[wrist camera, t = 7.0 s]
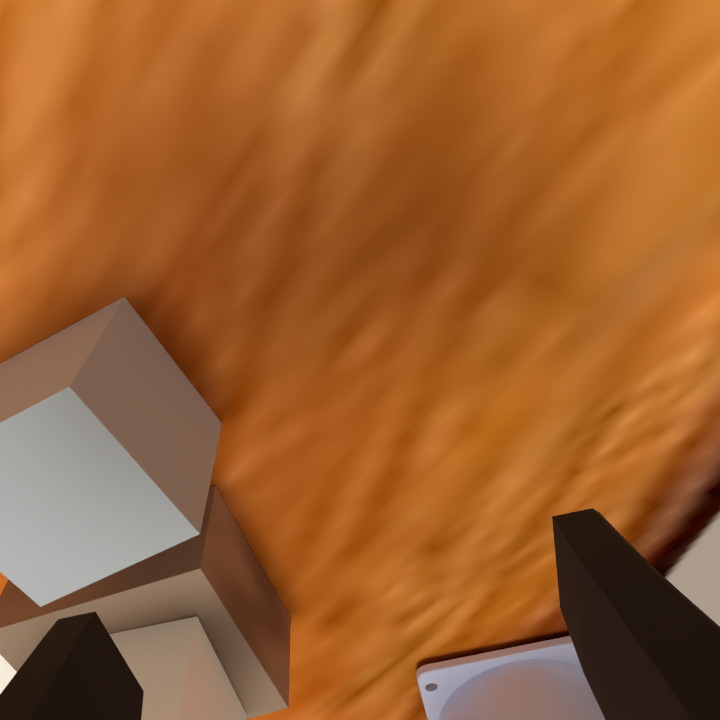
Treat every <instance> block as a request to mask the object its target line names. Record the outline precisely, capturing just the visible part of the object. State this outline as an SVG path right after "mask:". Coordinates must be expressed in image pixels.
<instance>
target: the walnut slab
mask: <svg viewBox="0 0 720 720" xmlns="http://www.w3.org/2000/svg"><path fill="white" fill-rule="evenodd" d="M90 612H96V613H97V615H98V617H99V618H100V620H101V621H102V623H103V625H104V626H105V628H106V630H107V631H108V633H109V634H113V633H118V632H122V631H127V630H132V629H137V628H142V627H147V626H152V625H157V624H162V623H166V622H171V621H176V620H181V619H186V618H191V617H196V616H197V617H198V619H199V621H200V623H201V625H202V627H203V629H204V631H205V633H206V635H207V637H208V639H209V641H210V643H211V645H212V647H213V649H214V651H215V653H216V655H217V657H218V659H219V661H220V663H221V665H222V667H223V669H224V671H225V673H226V675H227V677H228V679H229V681H230V683H231V685H232V687H233V689H234V691H235V693H236V695H237V697H238V698H239V700H240V702H241V704H242V706H243V708H244V710H245V712H246V714H247V715H246V719H250V718H253V717H257V716H261V715H264V714H268V713H271V712H275V711H279V710H282V709H286V708H288V704H289V663H290V622H291V617H290V616H289V614H288V612H287V610H286V609H285V607H284V605H283V603H282V601H281V600H280V598H279V596H278V594H277V593H276V591H275V589H274V587H273V586H272V584H271V582H270V580H269V579H268V577H267V575H266V573H265V571H264V570H263V568H262V566H261V564H260V563H259V561H258V559H257V557H256V556H255V554H254V552H253V550H252V548H251V547H250V545H249V543H248V541H247V540H246V538H245V536H244V534H243V533H242V531H241V529H240V527H239V526H238V524H237V522H236V520H235V518H234V517H233V515H232V513H231V511H230V510H229V508H228V506H227V504H226V503H225V501H224V499H223V497H222V496H221V494H220V492H219V490H218V488H217V487H216V485H215V486H211V487H209V491H208V496H207V501H206V506H205V511H204V516H203V521H202V526H201V531H200V534H199V535H197V536H194V537H192V538H190V539H188V540H186V541H183V542H181V543H179V544H177V545H175V546H173V547H170V548H168V549H166V550H164V551H162V552H159V553H157V554H155V555H153V556H151V557H148V558H146V559H144V560H142V561H140V562H138V563H135V564H133V565H131V566H129V567H127V568H124V569H122V570H120V571H118V572H116V573H113V574H111V575H109V576H107V577H105V578H103V579H100V580H98V581H96V582H94V583H92V584H89V585H87V586H85V587H83V588H81V589H78V590H76V591H74V592H72V593H70V594H68V595H65V596H63V597H61V598H59V599H57V600H54V601H52V602H50V603H48V604H46V605H43V606H41V607H40V606H39V605H38V604H37V603H35V602H34V601H33V600H32V599H31V598H30V597H29V596H27V595H26V594H25V593H24V592H23V591H22V590H21V589H19V588H18V587H17V586H16V585H15V584H14V583H12V582H11V581H10V580H8V582H7V584H6V586H5V588H4V590H3V592H2V594H1V596H0V655H1V656H2V657H3V658H4V659H5V660H6V661H7V662H8V663H9V664H10V665H11V666H12V667H13V668H14V670H15V671H16V672H17V671H18V670H19V669H20V667H21V666H22V665H23V664H24V662H25V661H26V660H27V658H28V657H29V656H30V654H31V653H32V652H33V650H34V649H35V648H36V647H37V645H38V644H39V643H40V641H41V640H42V639H43V637H44V636H45V635H46V634H47V632H48V631H49V630H50V629H51V627H52V626H53V625H54V624H55V623H56V621H57V620H58V619H61V618H66V617H71V616H76V615H81V614H86V613H90Z"/></svg>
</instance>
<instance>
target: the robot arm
mask: <svg viewBox="0 0 720 720" xmlns="http://www.w3.org/2000/svg"><path fill="white" fill-rule="evenodd" d="M552 519H553V530H554V542H555V553H556V564H557V575H558V587H559V598H560V608H561V611H562V614H563V616H564V619H565V622H566V625H567V628H568V631H569V634H570V636H566V637H561V638H556V639H551V640H546V641H541V642H536V643H531V644H526V645H521V646H516V647H511V648H506V649H501V650H496V651H491V652H486V653H481V654H476V655H471V656H466V657H461V658H456V659H451V660H446V661H441V662H436V663H431V664H426V665H423V666H421V667H420V668H419V669H418V670H417V671H416V676H417V682H418V686H419V689H420V693H421V697H422V700H423V704H424V708H425V712H426V715H427V719H428V720H720V627H719V626H718V625H717V624H716V623H715V622H714V621H713V620H711V619H710V618H709V617H708V616H707V615H706V614H705V613H704V612H702V611H701V610H700V609H699V608H698V607H697V606H696V605H694V604H693V603H692V602H691V601H690V600H689V599H688V598H687V597H685V596H684V595H683V594H682V593H681V592H680V591H679V590H678V589H676V588H675V587H674V586H673V585H672V584H671V583H670V582H669V581H668V580H667V579H666V578H664V577H663V576H662V575H661V574H660V573H659V572H658V571H657V570H656V569H655V568H654V567H653V566H652V565H651V564H650V563H649V562H648V561H647V560H646V559H645V558H643V557H642V556H641V555H640V554H639V553H638V552H637V551H636V550H635V549H634V548H633V547H632V546H631V545H630V544H629V543H628V542H627V541H626V540H625V539H624V538H623V537H622V536H621V535H620V534H619V533H618V532H617V531H616V529H615V528H614V527H613V526H612V525H611V524H610V523H609V522H608V521H607V520H606V519H605V518H604V517H603V516H602V515H601V514H600V513H599V512H597V511H596V510H594V509H593V508H592V509H587V510H582V511H577V512H572V513H568V514H563V515H558V516H553V517H552ZM143 695H144V691H143V689H142V687H141V686H140V684H139V683H138V681H137V679H136V678H135V676H134V674H133V673H132V671H131V669H130V668H129V666H128V664H127V663H126V661H125V659H124V658H123V656H122V654H121V653H120V651H119V650H118V648H117V646H116V645H115V643H114V641H113V640H112V638H111V636H110V635H109V633H108V631H107V630H106V628H105V626H104V625H103V623H102V621H101V620H100V618H99V617H98V615H97V613H96V612H90V613H86V614H81V615H76V616H71V617H66V618H61V619H58V620H57V621H56V623H55V624H54V625H53V626H52V627H51V629H50V630H49V631H48V632H47V634H46V635H45V636H44V637H43V639H42V640H41V641H40V643H39V644H38V645H37V647H36V648H35V649H34V650H33V652H32V653H31V654H30V656H29V657H28V658H27V660H26V661H25V662H24V664H23V665H22V666H21V667H20V669H19V670H18V671H17V673H16V674H15V675H14V677H13V678H12V679H11V681H10V682H9V683H8V685H7V686H6V687H5V689H4V690H3V691H2V693H1V694H0V720H141V716H142V705H143Z"/></svg>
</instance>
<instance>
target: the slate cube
mask: <svg viewBox="0 0 720 720" xmlns="http://www.w3.org/2000/svg"><path fill="white" fill-rule="evenodd" d="M221 427H222V422H221V421H220V420H219V419H218V417H217V416H216V415H215V413H214V412H213V411H212V410H211V408H210V407H209V406H208V404H207V403H206V402H205V400H204V399H203V398H202V397H201V395H200V394H199V393H198V391H197V390H196V389H195V387H194V386H193V385H192V384H191V382H190V381H189V380H188V378H187V377H186V376H185V375H184V373H183V372H182V371H181V369H180V368H179V367H178V365H177V364H176V363H175V362H174V360H173V359H172V358H171V356H170V355H169V354H168V352H167V351H166V350H165V349H164V347H163V346H162V345H161V343H160V342H159V341H158V340H157V338H156V337H155V336H154V334H153V333H152V332H151V330H150V329H149V328H148V327H147V325H146V324H145V323H144V321H143V320H142V319H141V317H140V316H139V315H138V314H137V312H136V311H135V310H134V308H133V307H132V306H131V304H130V303H129V302H128V301H127V299H126V298H125V297H122V298H121V299H119V300H117V301H115V302H113V303H111V304H109V305H108V306H106V307H104V308H102V309H100V310H98V311H97V312H95V313H93V314H91V315H89V316H87V317H85V318H84V319H82V320H80V321H78V322H76V323H74V324H73V325H71V326H69V327H67V328H65V329H63V330H61V331H60V332H58V333H56V334H54V335H52V336H50V337H49V338H47V339H45V340H43V341H41V342H39V343H37V344H36V345H34V346H32V347H30V348H28V349H26V350H25V351H23V352H21V353H19V354H17V355H15V356H13V357H12V358H10V359H8V360H6V361H4V362H2V363H0V572H1V573H2V574H3V575H4V576H6V577H7V578H8V579H9V580H10V581H11V582H12V583H14V584H15V585H16V586H17V587H18V588H19V589H21V590H22V591H23V592H24V593H25V594H26V595H27V596H29V597H30V598H31V599H32V600H33V601H34V602H35V603H37V604H38V605H39V606H40V607H41V606H43V605H46V604H48V603H50V602H52V601H54V600H57V599H59V598H61V597H63V596H65V595H68V594H70V593H72V592H74V591H76V590H78V589H81V588H83V587H85V586H87V585H89V584H92V583H94V582H96V581H98V580H100V579H103V578H105V577H107V576H109V575H111V574H113V573H116V572H118V571H120V570H122V569H124V568H127V567H129V566H131V565H133V564H135V563H138V562H140V561H142V560H144V559H146V558H148V557H151V556H153V555H155V554H157V553H159V552H162V551H164V550H166V549H168V548H170V547H173V546H175V545H177V544H179V543H181V542H183V541H186V540H188V539H190V538H192V537H194V536H197V535H199V534H200V531H201V526H202V521H203V516H204V511H205V506H206V501H207V496H208V491H209V486H210V481H211V476H212V471H213V466H214V461H215V456H216V451H217V447H218V442H219V437H220V432H221Z"/></svg>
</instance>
